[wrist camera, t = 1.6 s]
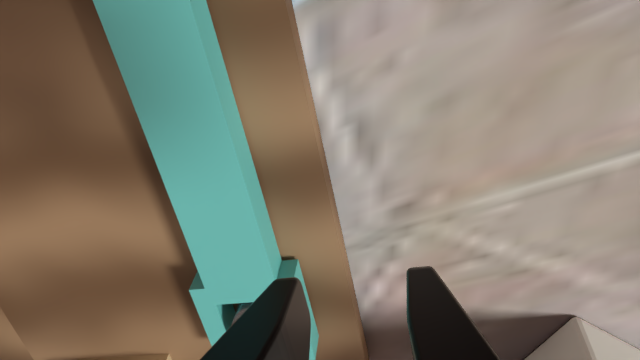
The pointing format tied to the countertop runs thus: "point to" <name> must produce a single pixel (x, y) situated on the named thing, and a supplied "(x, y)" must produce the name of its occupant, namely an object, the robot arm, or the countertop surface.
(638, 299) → the countertop surface
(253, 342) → the robot arm
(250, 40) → the board
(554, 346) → the soap bottle
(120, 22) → the link
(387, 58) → the countertop surface
